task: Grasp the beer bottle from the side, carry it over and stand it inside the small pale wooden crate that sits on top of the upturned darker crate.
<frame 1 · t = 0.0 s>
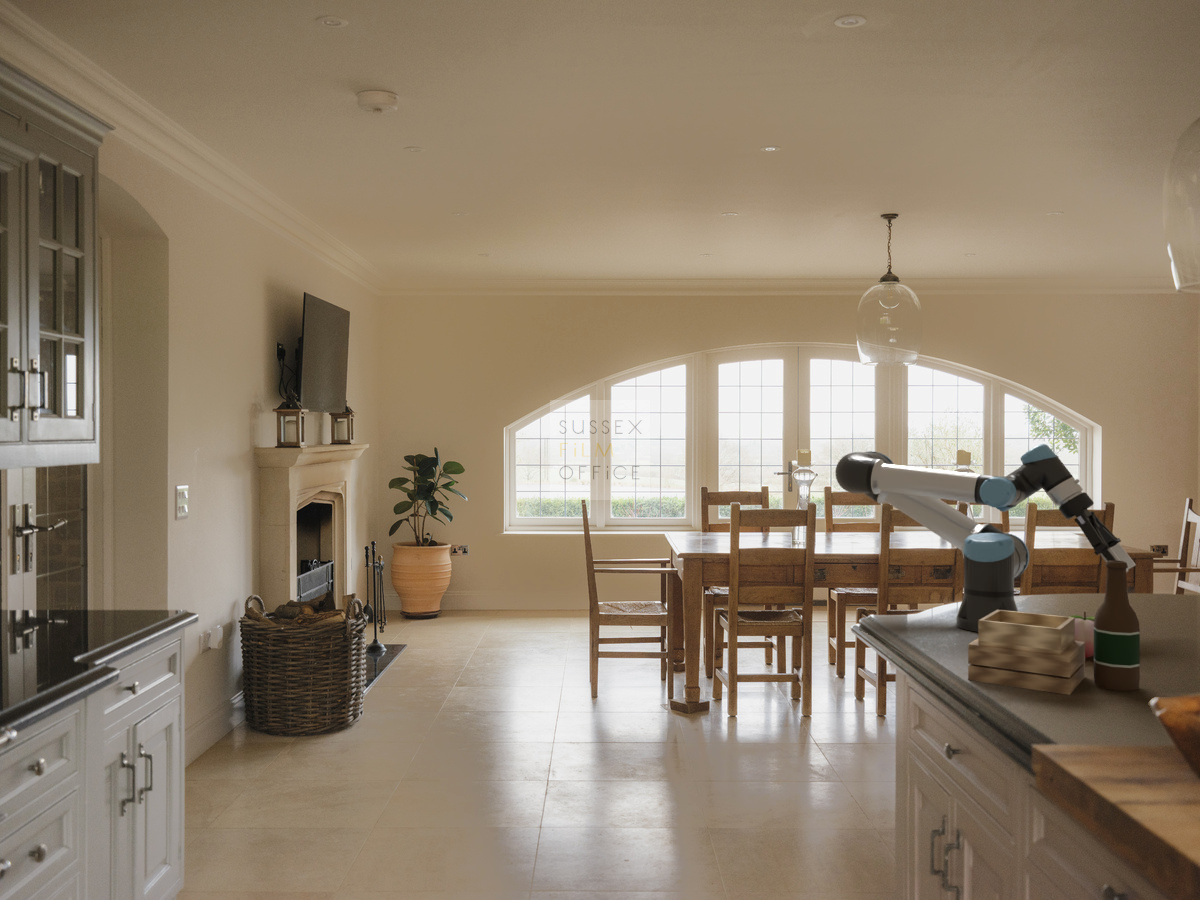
hand: (1127, 571, 224), 15 cm above the counter, tool tilted 35°, fingers open, 13 cm apart
beer bottle: (1116, 687, 175), on the counter
top crate: (1026, 643, 180), resting on base crate
base crate: (1026, 678, 180), on the counter
decorative fruit: (1084, 658, 198), on the counter
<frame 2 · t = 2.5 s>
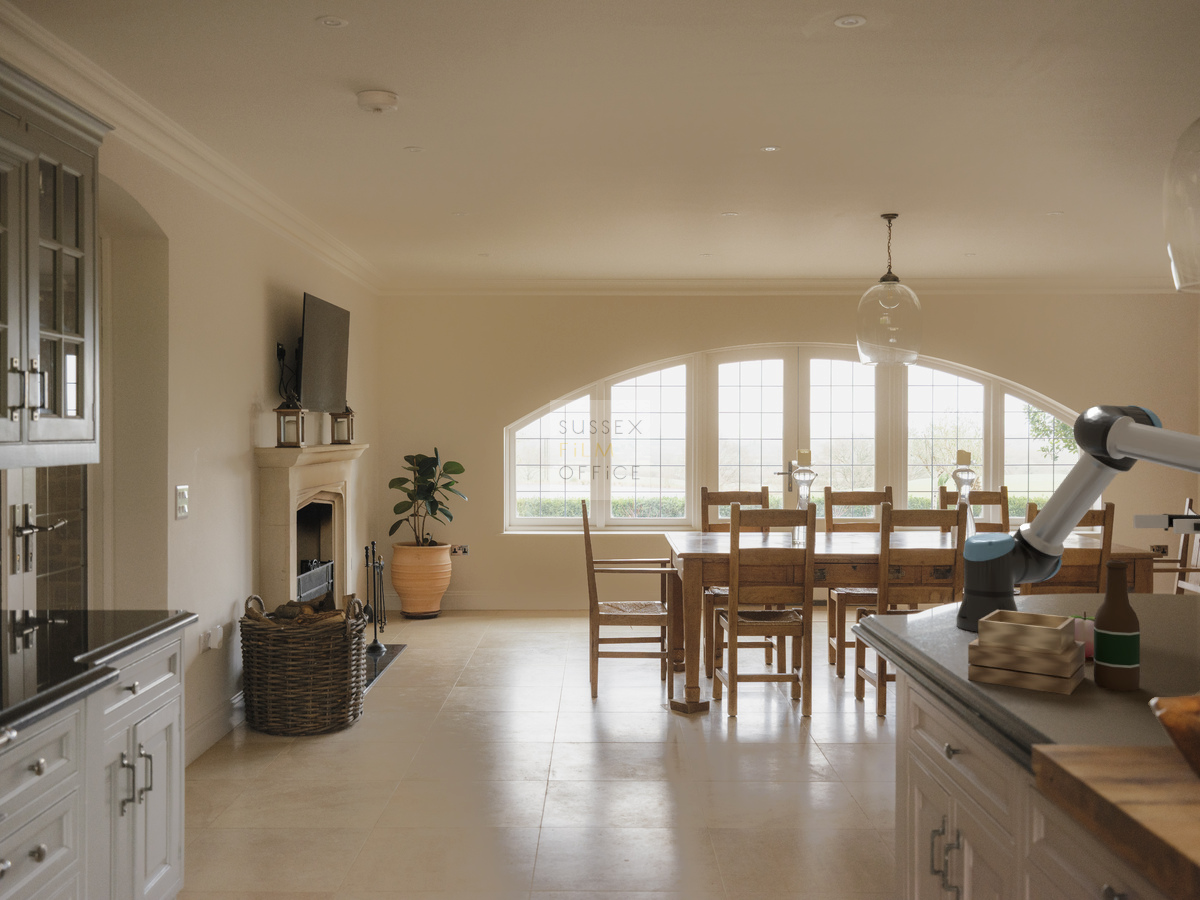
hand: (1153, 523, 179), 31 cm above the counter, tool horizontal, fingers open, 13 cm apart
nothing on the counter moved.
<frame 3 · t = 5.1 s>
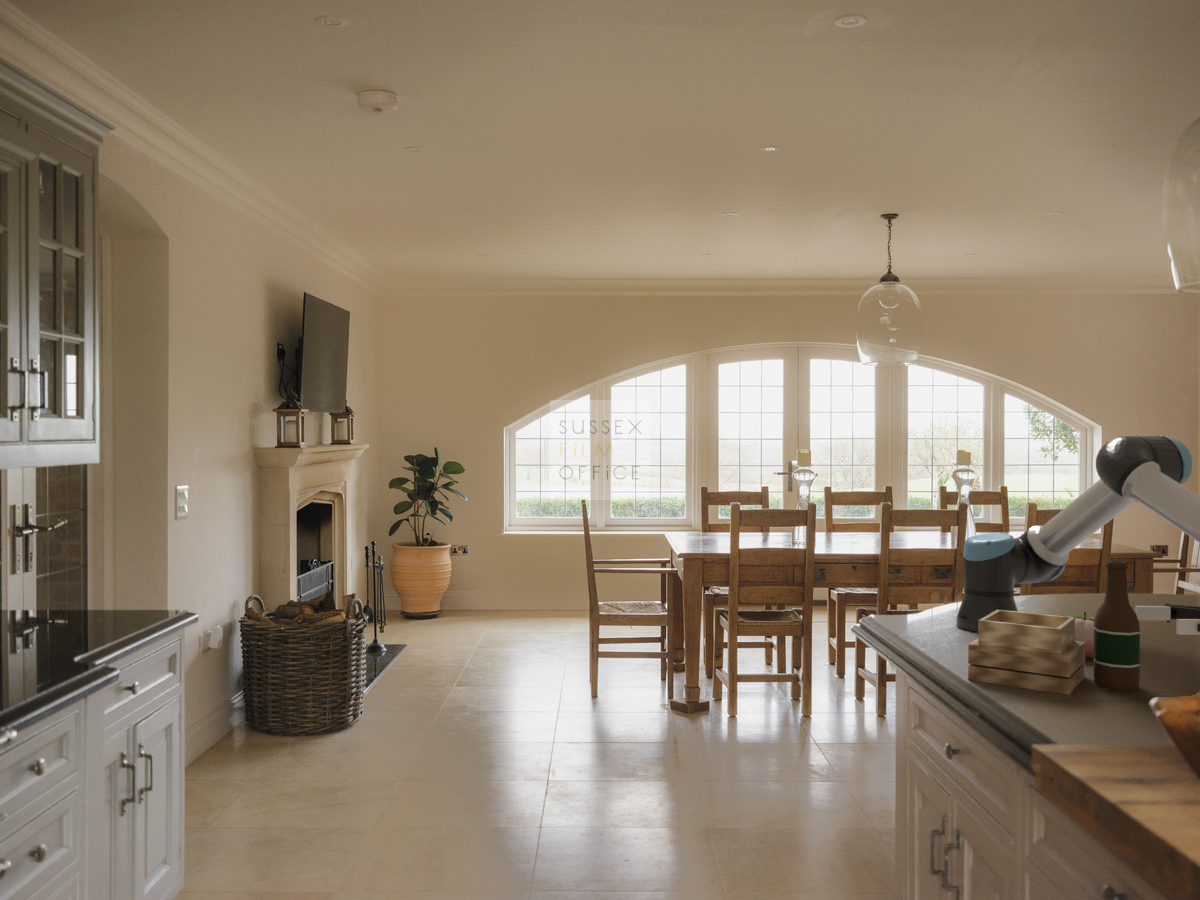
hand: (1155, 619, 174), 13 cm above the counter, tool horizontal, fingers open, 13 cm apart
nothing on the counter moved.
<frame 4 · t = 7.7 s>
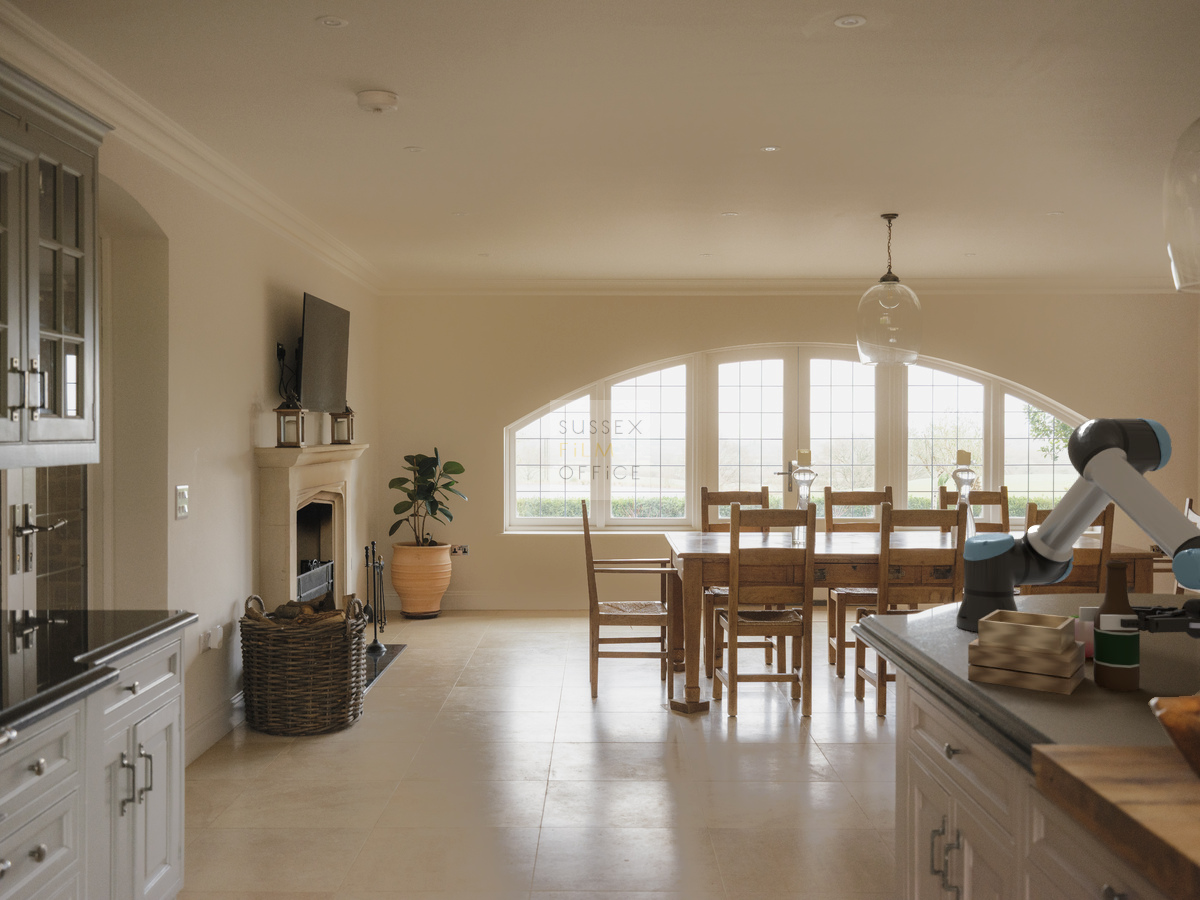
hand: (1090, 618, 175), 13 cm above the counter, tool horizontal, fingers closed on beer bottle, 7 cm apart
beer bottle: (1116, 687, 175), on the counter, touching gripper
everything else where it was.
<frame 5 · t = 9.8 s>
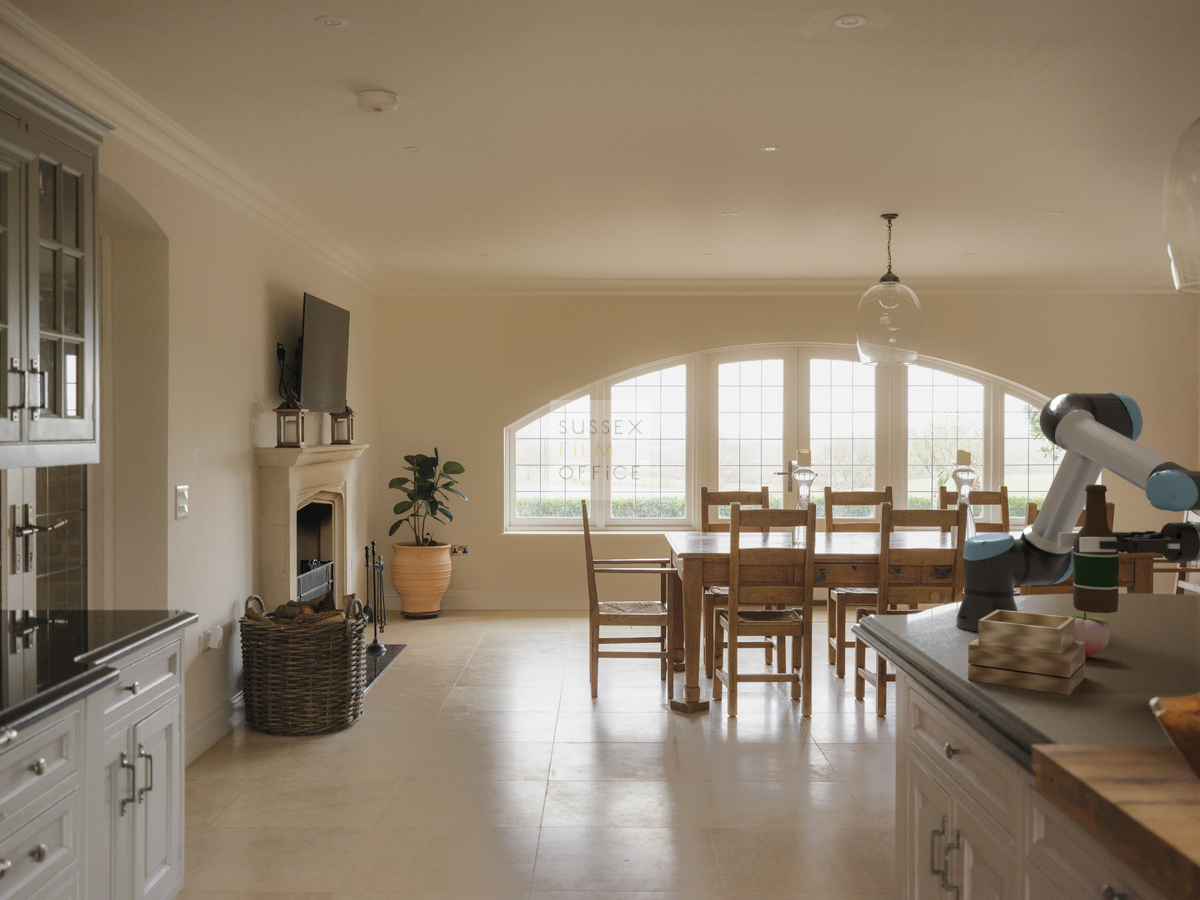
hand: (1069, 542, 175), 28 cm above the counter, tool horizontal, fingers closed on beer bottle, 7 cm apart
beer bottle: (1095, 610, 175), point 14 cm above the counter, touching gripper
everything else where it was.
when the fingers open (22 cm above the counter, at t = 12.3 s): beer bottle drops 1 cm, resting on top crate.
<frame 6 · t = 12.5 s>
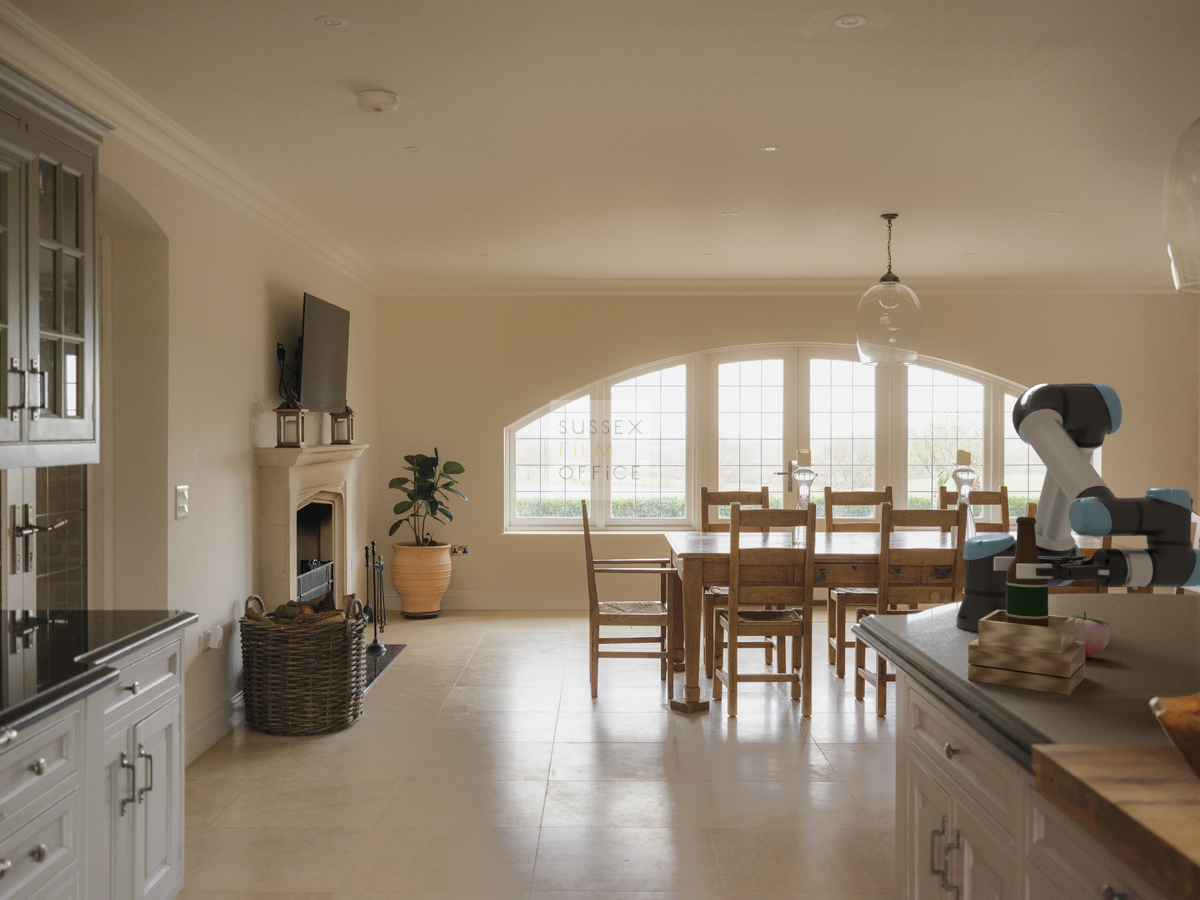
hand: (1005, 567, 181), 22 cm above the counter, tool horizontal, fingers open, 10 cm apart
beer bottle: (1027, 639, 180), point 8 cm above the counter, touching top crate
everything else where it was.
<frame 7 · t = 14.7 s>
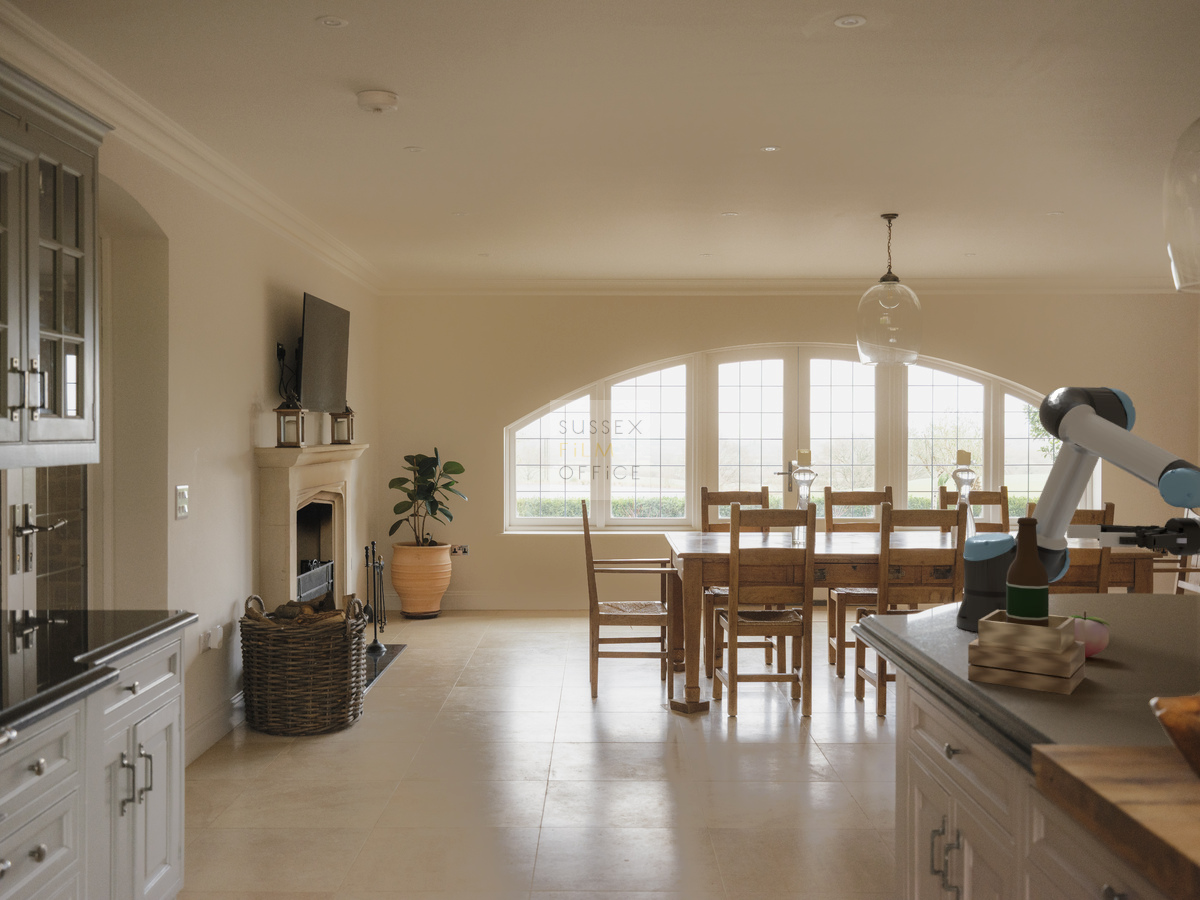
hand: (1083, 535, 183), 28 cm above the counter, tool horizontal, fingers open, 13 cm apart
nothing on the counter moved.
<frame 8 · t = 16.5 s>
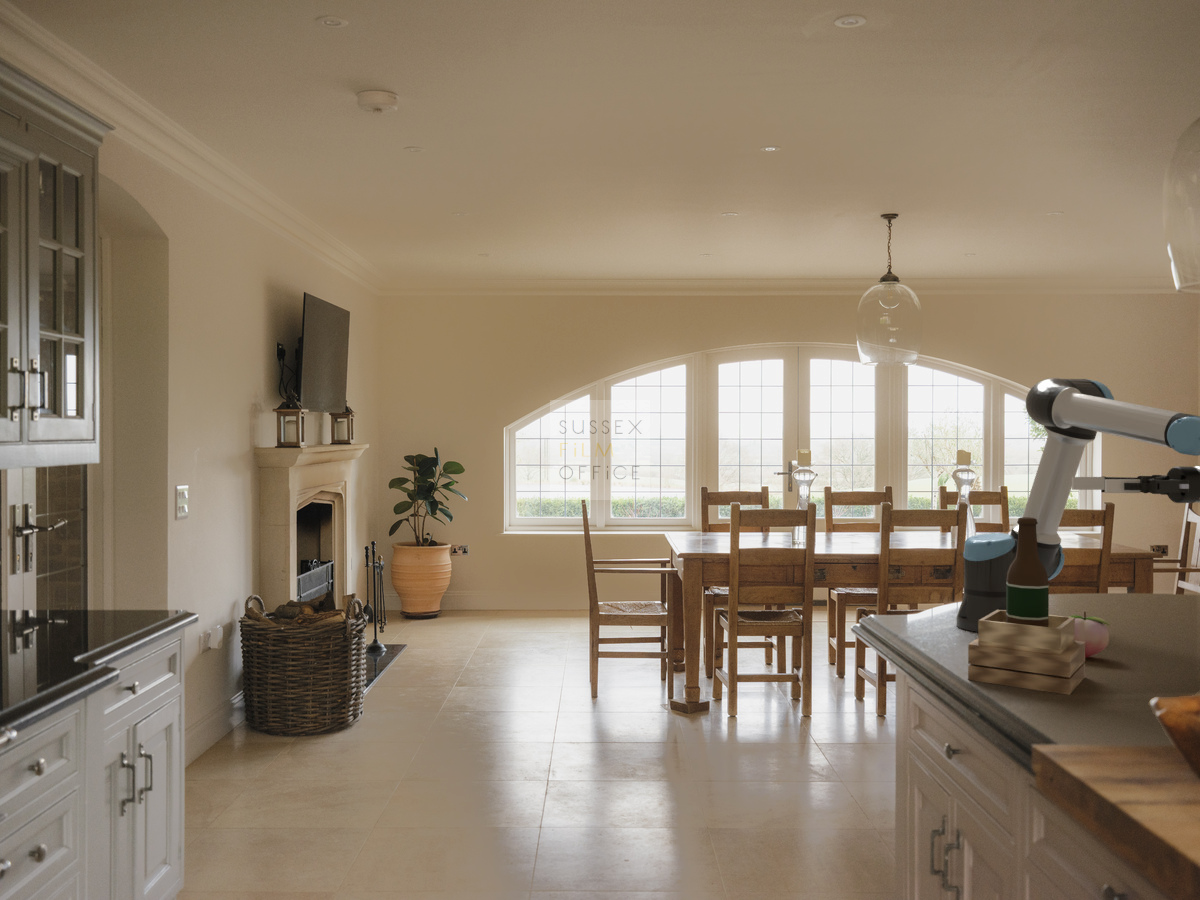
hand: (1088, 484, 188), 38 cm above the counter, tool horizontal, fingers open, 13 cm apart
nothing on the counter moved.
at the end: beer bottle inside the target area on the top crate (0.0 cm from its centre), point 0.6 cm above the top crate's base; beer bottle tilted 0°; the gripper is holding nothing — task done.
